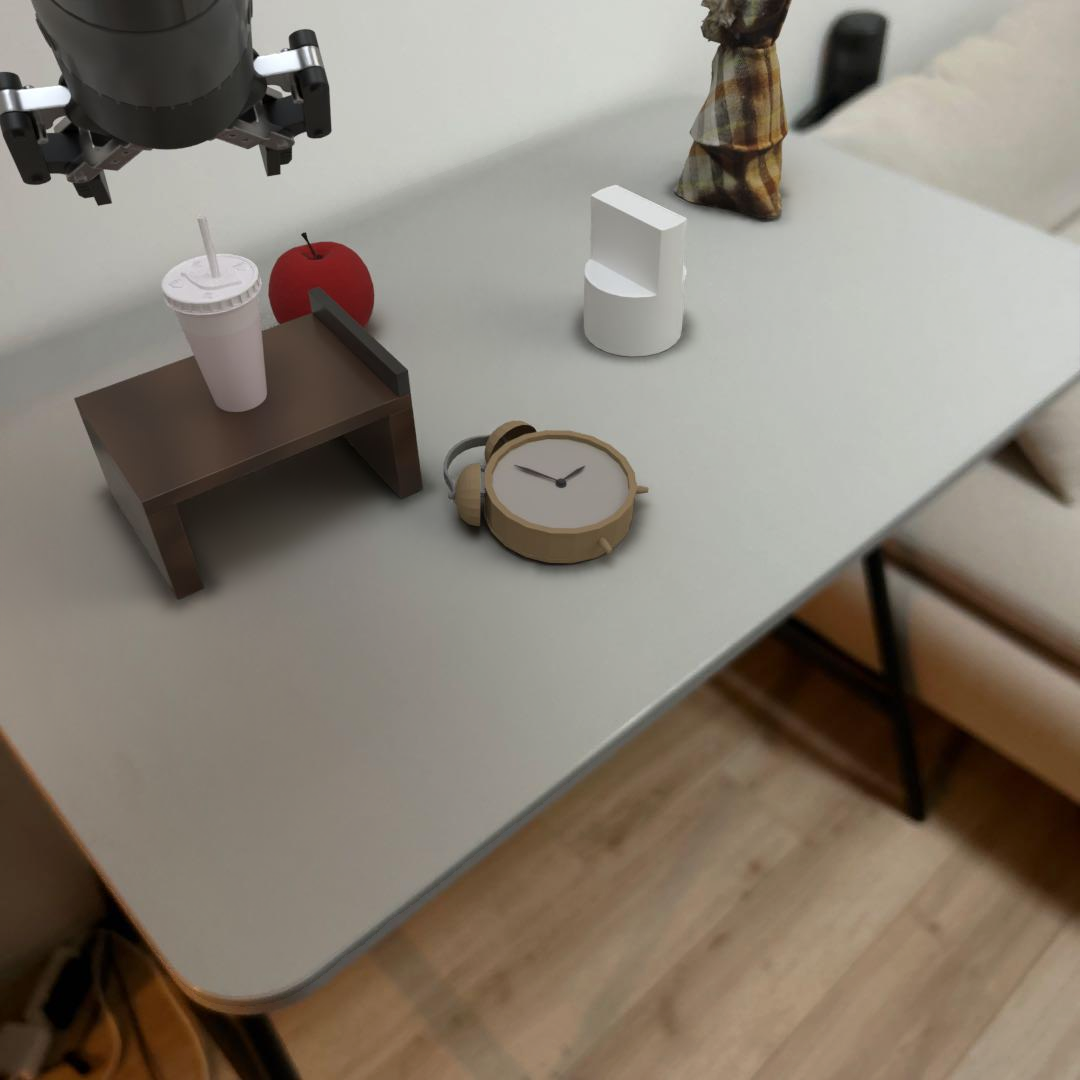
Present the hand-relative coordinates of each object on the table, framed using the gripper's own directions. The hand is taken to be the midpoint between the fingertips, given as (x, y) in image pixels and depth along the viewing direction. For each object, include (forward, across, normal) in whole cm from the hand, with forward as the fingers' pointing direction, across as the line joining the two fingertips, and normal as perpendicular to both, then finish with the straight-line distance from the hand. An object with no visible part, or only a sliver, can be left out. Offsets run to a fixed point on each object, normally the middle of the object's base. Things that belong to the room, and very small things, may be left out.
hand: (185, 172), depth 56 cm
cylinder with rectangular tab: (+37, -36, +7) cm, 51 cm away
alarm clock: (+23, -19, +21) cm, 36 cm away
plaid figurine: (+52, -56, -8) cm, 76 cm away
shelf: (+29, 0, +14) cm, 32 cm away
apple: (+44, -9, 0) cm, 44 cm away
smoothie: (+23, 0, +8) cm, 24 cm away
